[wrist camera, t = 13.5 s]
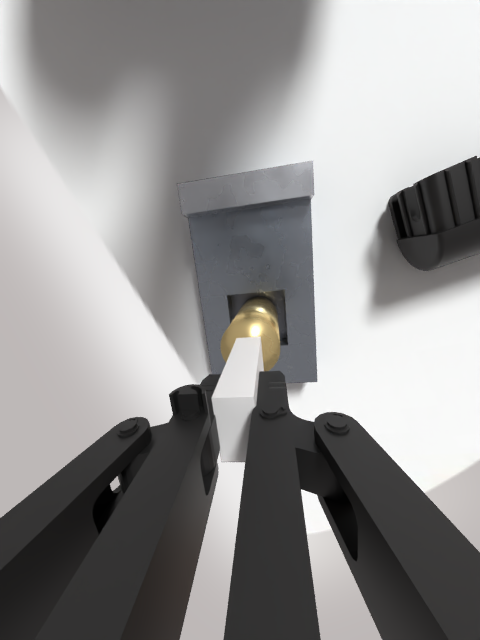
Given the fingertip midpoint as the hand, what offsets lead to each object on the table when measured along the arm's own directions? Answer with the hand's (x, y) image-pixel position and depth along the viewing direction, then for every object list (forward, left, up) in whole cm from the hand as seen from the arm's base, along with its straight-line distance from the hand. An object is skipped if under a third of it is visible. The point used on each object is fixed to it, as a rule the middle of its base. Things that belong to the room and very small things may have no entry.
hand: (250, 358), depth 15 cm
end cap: (-8, +19, -13) cm, 24 cm away
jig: (-3, 0, -13) cm, 13 cm away
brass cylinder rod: (0, 0, -11) cm, 11 cm away
